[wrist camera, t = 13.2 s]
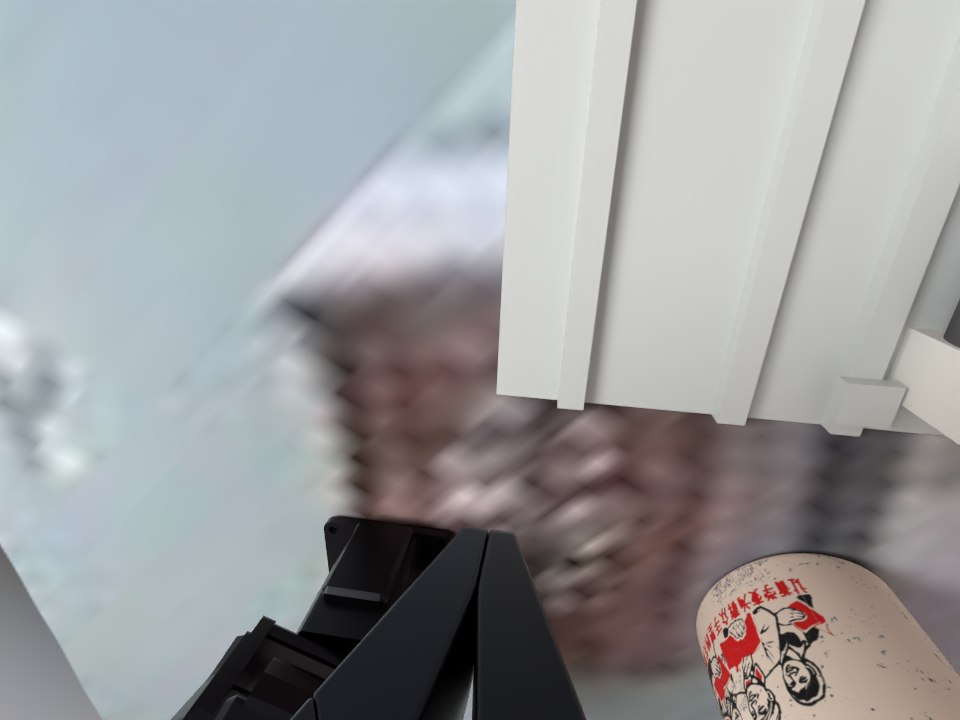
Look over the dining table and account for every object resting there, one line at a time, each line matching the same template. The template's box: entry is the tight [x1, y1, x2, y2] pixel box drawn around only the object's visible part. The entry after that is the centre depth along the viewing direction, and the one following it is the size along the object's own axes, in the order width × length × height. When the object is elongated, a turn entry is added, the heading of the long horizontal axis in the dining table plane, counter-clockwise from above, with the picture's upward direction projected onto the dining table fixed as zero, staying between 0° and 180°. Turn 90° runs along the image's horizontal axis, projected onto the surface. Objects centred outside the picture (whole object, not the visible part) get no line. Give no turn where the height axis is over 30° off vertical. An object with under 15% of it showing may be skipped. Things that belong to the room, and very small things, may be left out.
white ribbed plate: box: [497, 0, 960, 437], centre depth 14 cm, size 15×22×3 cm
